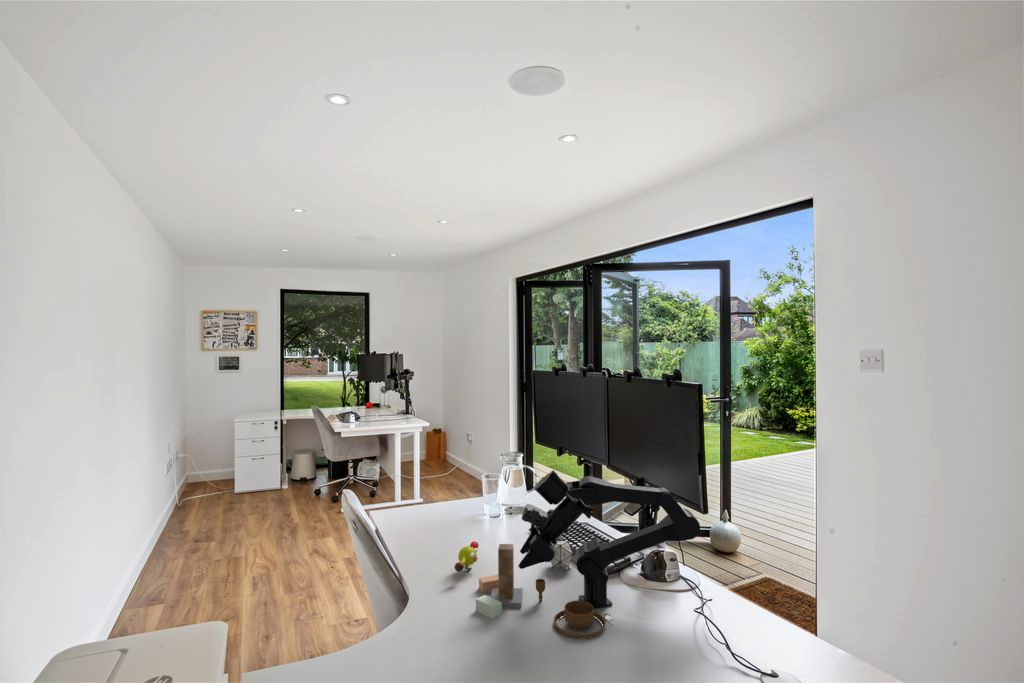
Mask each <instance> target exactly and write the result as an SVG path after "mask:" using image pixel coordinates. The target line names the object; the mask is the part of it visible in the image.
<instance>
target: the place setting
mask: <svg viewBox="0 0 1024 683" xmlns="http://www.w3.org/2000/svg"><path fill="white" fill-rule="evenodd" d="M545 589H546V580H545V579H544V578H536V579H535V590H536V592H537V593H538V603H543V602H542V601H543V598H544V597H543V593H544V592H545ZM564 615H565V616H564ZM606 615H609V616H611V615H610V614H608V613H605V614H604V615H603V616H602V615H601V614H600V613H598V612H596V611H595V608H594V607H593V605H592V604H590V603H588V602H585V601H581V600H572V601H569V602H566V604H564V609H562V610H561V611H560V610H559V612H557V613H556V614H555V615H554V617H553V625H554V627H555V629H556V630H557V631H558V633H560V634H562V635H563V634H564V636H565V635H566V636H565V637H568V636H569V638H572V637H574V638H573V639H578V638H587V639H591V638H590V637H592V638H595V637H597V635H598V636H600V633H601V634H602V633H603V631H604V630H605V628H606V620H605V618H604V617H605V616H606ZM561 616H564V619H565V621H566V623H567V624H568V626H572V627H574V628H576V629H575V630H577V629H584V630H586V629H587V628H588V627H590V626H591V625H592V624H593V623H594V621H595V618H594V616H595V617H597V618H598V619H599V620H600V621H601V622H602V624H603V627H602V626H601V628H600V629H598V630H595V631H594V632H589V633H588V632H587V633H574V632H572V631H571V632H570V631H568V630H566V629H563V628H561V627H560V626H559V625H558V623H556V622H557V620H558V619H559V618H560V617H561ZM574 628H573V629H574ZM585 628H586V629H585ZM594 636H595V637H594Z"/></svg>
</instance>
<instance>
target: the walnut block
mask: <svg viewBox="0 0 1024 683" xmlns="http://www.w3.org/2000/svg"><path fill="white" fill-rule="evenodd" d="M497 551H498V553H497V557H498V558H497V559H498V560H497V561H498V563H497V564H498V568H497V569H498V571H497V572H498V574H497V575H498V588H499V598H503V599H513V594H514V588H515V586H514V582H515V581H514V580H515V579H514V574H515V573H514V571H515V570H514V569H515V567H514V564H515V562H514V558H515V557H514V544H513V543H499V544H498V549H497Z"/></svg>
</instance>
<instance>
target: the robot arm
mask: <svg viewBox="0 0 1024 683" xmlns="http://www.w3.org/2000/svg"><path fill="white" fill-rule="evenodd" d="M533 489H534V490H535V491H536V493H538V494H539V495H540V496H541V497H542V498H543V499H544V500H545V501H546V502H547V503H548V504H549V505H553V506H555V505H557V506H556V507H555V508H554V509H553V508H551V509H549V510H547V511H545V510H543V509H541V508H540V507H537V506H535V505H532V504H531V503H526V504H525V507H524V509H523V511H522V514H521V520H522V521H524V522H525V523H530V533H529V535H528V537H527V538H526V540H525V542H524V544H523V545H522V547H521V548H520V550H519V552H520V553H521V555H524V556H523V558H522V560H520V562H519V563H518V568H519V569H520V570H522V569H526V568H529V567H531V566H535V565H538V564H542V563H551V560H552V559H553V558H554V557H555V551H554V546H553V545H552V543H553V544H554V545H555V544H556V543H557V541H558V539H559V538H560V537H561V536H562V535H563V534H567V533H568V532H569V528H570V527H571V526H572V525H573V524H574V523H575V522H576V521H577V520H578V519H579V518H580V517H581V516H582V515H584V516H585V517H586V518H587V519H591V518H592V517H591V511H592V506H591V505H594V506H595V505H604V504H607V503H614V502H616V503H617V502H618V503H627V504H636V505H647V506H658V507H661V508H662V509H663V510H664V512H665V514H667V515H665V517H663V518H662V519H661V520H660V521H659V522H657V523H655V524H653V525H650V526H648V527H645V528H642V529H640V530H639V529H638V530H636V531H633V532H632V533H631V532H630V533H629V534H627V535H626V534H625V536H621V537H618V538H616V539H613V540H610V541H608V542H599V540H598V539H599V538H597V537H595V538H592V539H590V540H589V541H582V544H581V545H580V546H578V547H577V549H576V552H575V555H574V556H575V563H576V569H577V571H578V573H580V574H581V575H582V576H583V594H580V595H578V599H579V601H585V602H588V603H590V604H592V605H593V607H594V609H599V608H603V607H608V606H609V607H610V606H612V605H613V602H612V601H611V599H609V598H608V596H607V595H608V594H607V592H608V591H607V590H608V586H607V585H608V584H607V583H608V581H609V574H608V570H607V568H608V567H609V566H610V565H611V564H612V563H613V562H615V561H618V560H620V559H623V558H625V557H628V556H631V555H634V554H636V553H639V552H641V551H644V550H646V549H649V548H650V549H651V548H652V547H655V546H657V545H660V544H663V543H666V542H679V543H680V542H684V541H690V540H694V539H695V538H697V537H698V536H699V534H700V532H701V524H700V522H699V520H698V519H697V518H696V516H695V515H694V514H693V513H692V511H690V509H687V508H684V507H681V505H680V504H679V503H678V502H677V501H676V499H675V498H674V497H673V495H672V494H671V492H670V491H669V490H668V489H667V488H666V487H650V486H641V485H628V484H618V483H613V482H610V481H608V480H605V479H602V478H599V477H595V476H592V475H588V476H587V475H585V476H583V477H582V478H581V479H579V480H576V481H575V480H574V481H567V482H565V481H564V480H563V479H562V478H561V476H559V474H558V472H556V470H554V469H553V470H551V471H550V472H549V473H547V474H545V475H544V476H542V477H541V478H540V480H538V482H537V483H536V484H535V487H534V488H533Z"/></svg>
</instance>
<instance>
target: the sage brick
mask: <svg viewBox="0 0 1024 683" xmlns="http://www.w3.org/2000/svg"><path fill="white" fill-rule="evenodd" d="M502 608H503V607H502V602H499V601H497V600H495V599H493V598H490V596H488V595H486V594H483V595H482V596H480V597H477V598H475V611H476V612H478V611H479V612H478V613H480V614H482V613H483V614H482V615H484V614H485V615H484V616H486V615H487V617H488V618H491V619H493V618H494V619H495V618H497V617H499V616H501V615H502V614H503V609H502Z"/></svg>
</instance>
